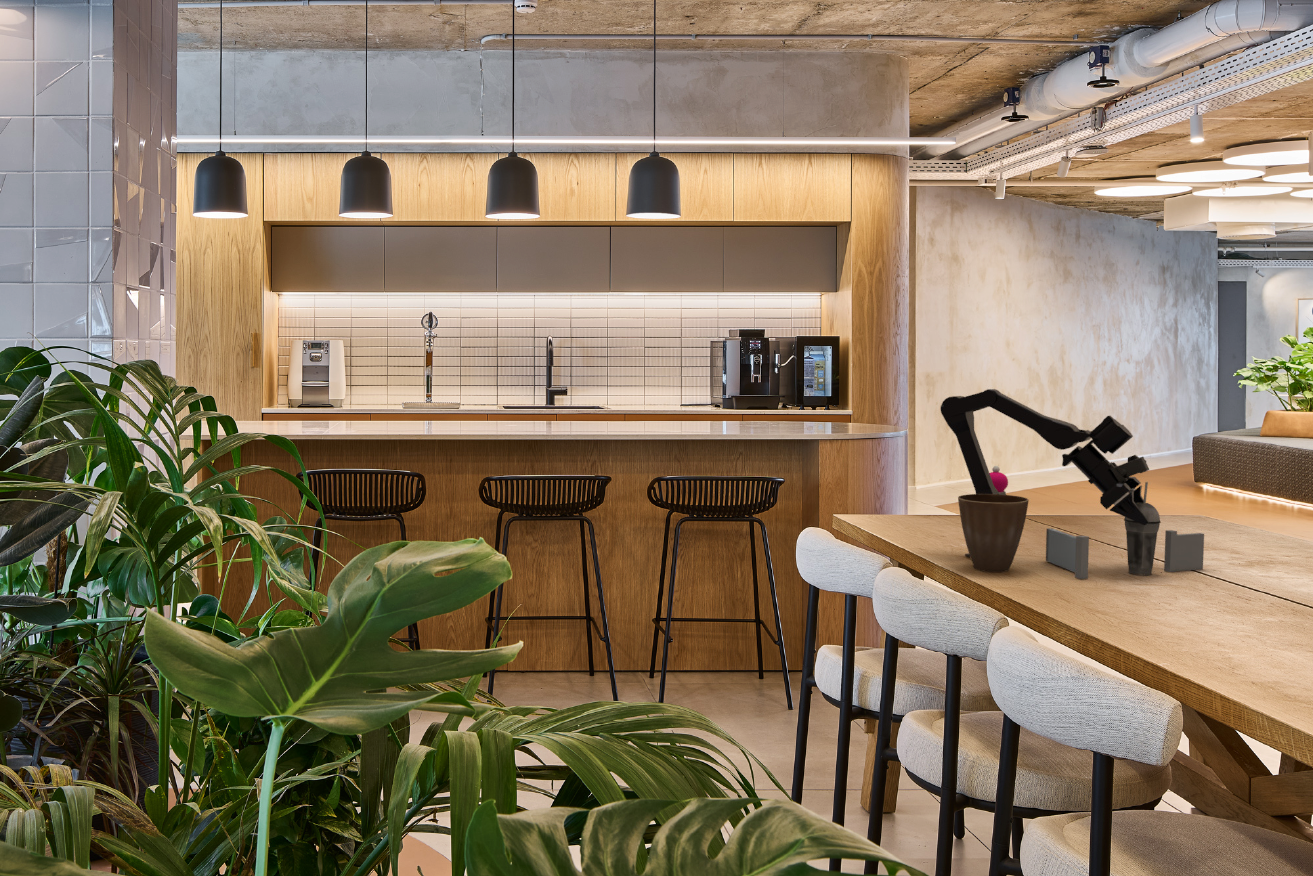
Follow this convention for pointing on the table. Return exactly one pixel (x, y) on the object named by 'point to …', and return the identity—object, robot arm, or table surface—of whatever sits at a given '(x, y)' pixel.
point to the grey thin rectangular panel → (1061, 549)
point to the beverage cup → (1142, 539)
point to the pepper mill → (999, 479)
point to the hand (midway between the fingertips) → (1149, 521)
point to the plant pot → (992, 528)
